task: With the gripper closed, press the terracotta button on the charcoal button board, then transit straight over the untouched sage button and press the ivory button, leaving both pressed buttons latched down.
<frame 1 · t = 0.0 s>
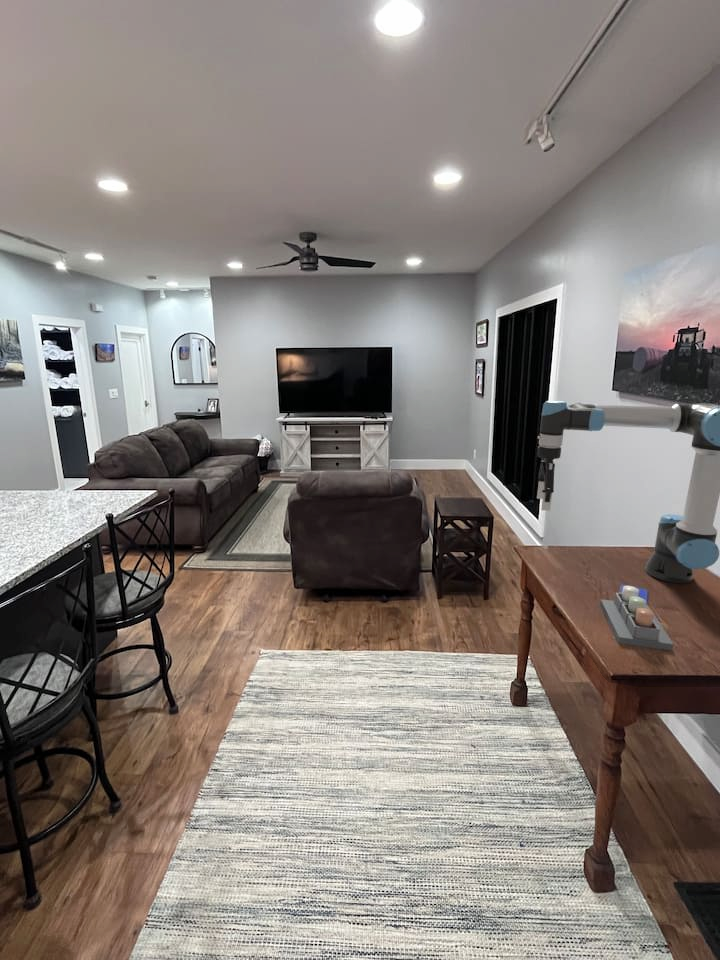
hand: (543, 504, 171), 28 cm above the table, fingers open, 13 cm apart
button sage: (636, 606, 144), point 7 cm above the table, slide at 0.0 cm
button board: (633, 625, 146), on the table
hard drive: (633, 598, 164), on the table
button ivory: (629, 594, 151), point 7 cm above the table, slide at 0.0 cm
button terracotta: (644, 618, 138), point 7 cm above the table, slide at 0.0 cm
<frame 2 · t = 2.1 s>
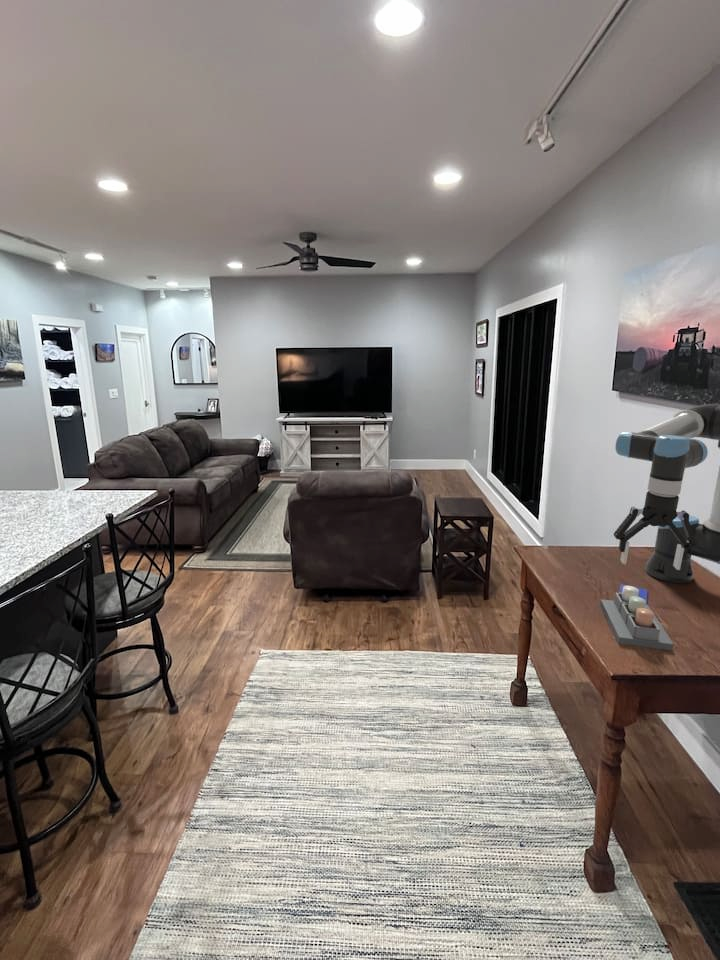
hand: (649, 565, 135), 23 cm above the table, fingers open, 13 cm apart
nothing on the table moved.
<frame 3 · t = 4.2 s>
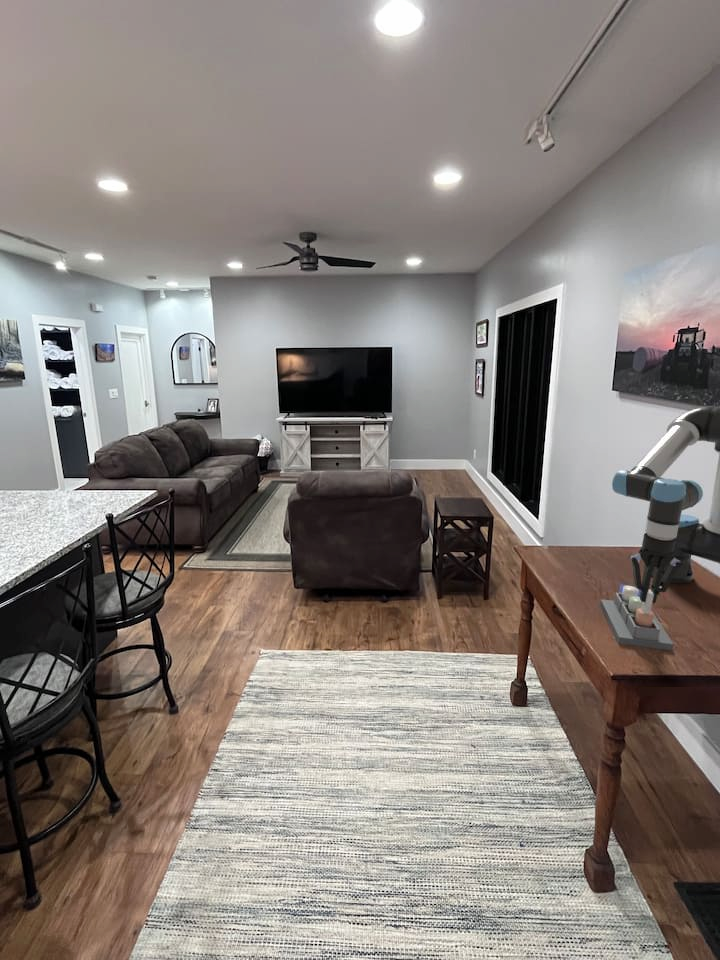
hand: (645, 611, 137), 9 cm above the table, fingers closed
button terracotta: (644, 618, 138), point 7 cm above the table, slide at 0.1 cm, touching gripper
everything else where it was.
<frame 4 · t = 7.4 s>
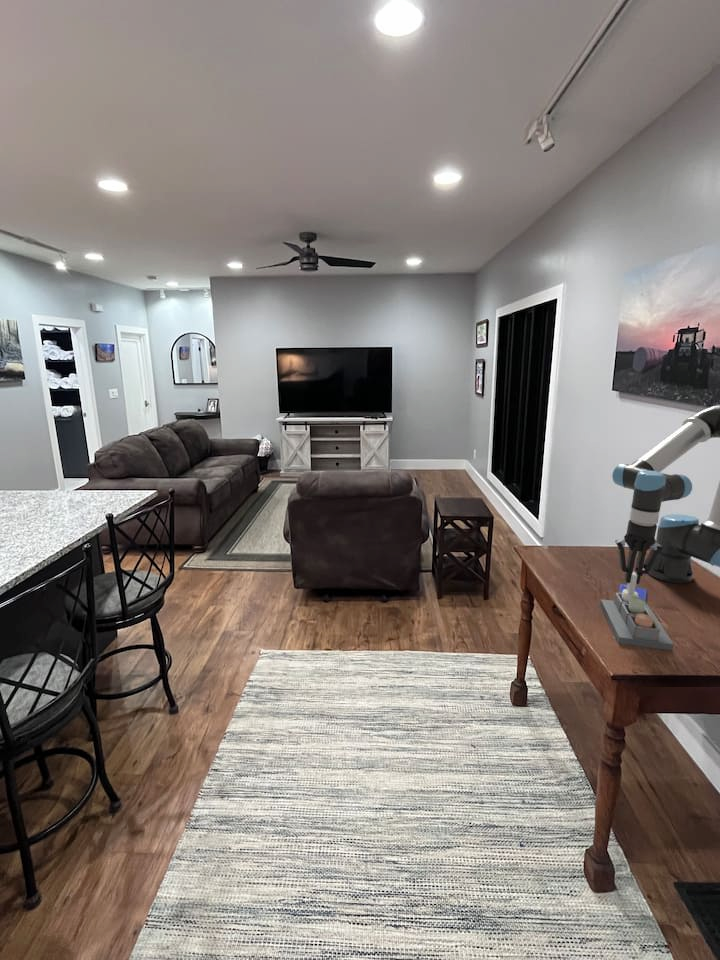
hand: (630, 592, 151), 8 cm above the table, fingers closed
button ivory: (629, 598, 151), point 6 cm above the table, slide at 1.3 cm, touching gripper
button terracotta: (643, 623, 138), point 5 cm above the table, slide at 1.8 cm
everything else where it was.
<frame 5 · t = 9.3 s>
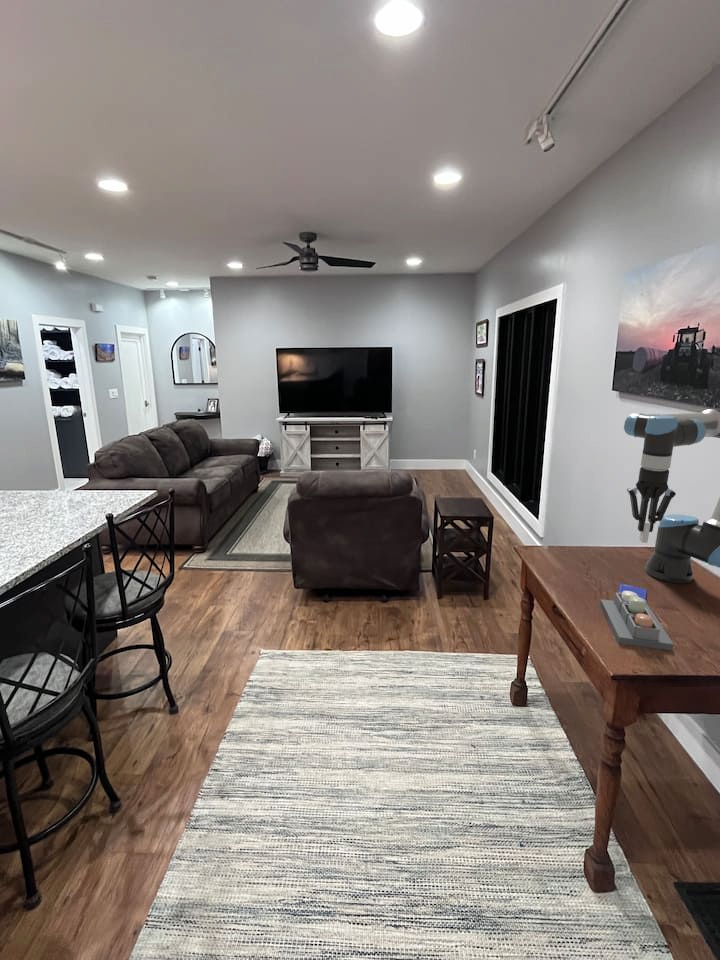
hand: (643, 540, 149), 24 cm above the table, fingers closed
button ivory: (629, 599, 152), point 5 cm above the table, slide at 1.8 cm
everything else where it was.
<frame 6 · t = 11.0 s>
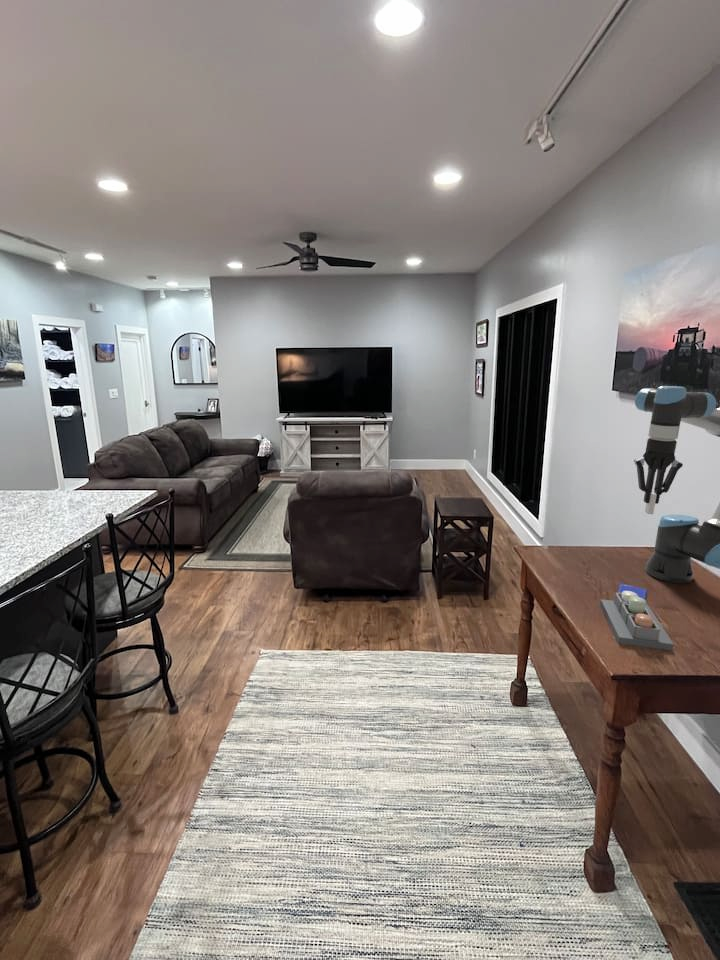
hand: (649, 512, 149), 32 cm above the table, fingers closed
nothing on the table moved.
at the end: button terracotta slide at 1.8 cm; button ivory slide at 1.8 cm; button sage slide at 0.0 cm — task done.
